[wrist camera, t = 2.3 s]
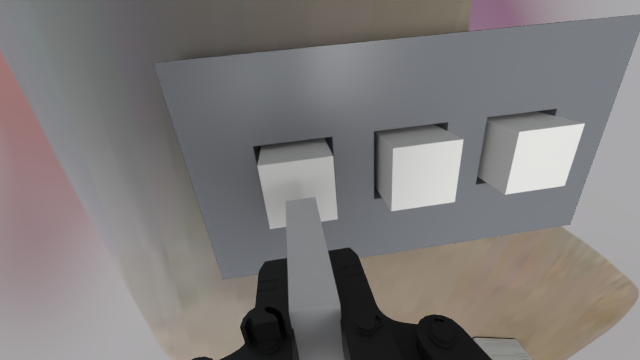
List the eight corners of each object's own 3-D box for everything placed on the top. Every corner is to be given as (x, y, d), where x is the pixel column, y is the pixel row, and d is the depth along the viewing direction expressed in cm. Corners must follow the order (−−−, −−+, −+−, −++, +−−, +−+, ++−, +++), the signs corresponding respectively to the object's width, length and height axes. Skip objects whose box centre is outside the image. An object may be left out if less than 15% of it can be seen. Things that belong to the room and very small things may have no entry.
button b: (371, 129, 20) (393, 148, 17) (429, 122, 21) (463, 139, 17) (372, 183, 22) (391, 211, 18) (425, 175, 23) (454, 202, 19)
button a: (261, 143, 20) (257, 165, 16) (323, 135, 20) (333, 156, 16) (272, 197, 22) (270, 229, 18) (327, 189, 22) (337, 219, 18)
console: (182, 59, 20) (153, 62, 15) (571, 21, 22) (646, 13, 18) (233, 243, 27) (223, 282, 22) (524, 199, 29) (568, 227, 25)
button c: (475, 116, 21) (519, 131, 17) (530, 109, 21) (585, 123, 17) (467, 169, 23) (505, 194, 19) (517, 163, 23) (564, 185, 19)
